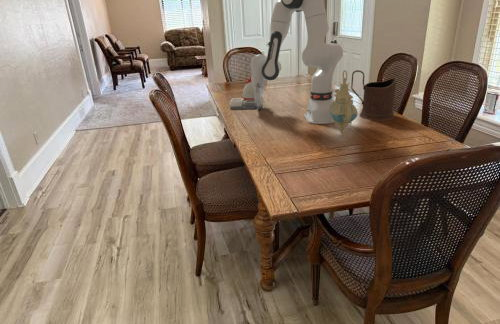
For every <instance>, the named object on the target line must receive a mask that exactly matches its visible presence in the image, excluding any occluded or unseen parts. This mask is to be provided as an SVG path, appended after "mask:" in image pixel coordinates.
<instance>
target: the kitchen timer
mask: <svg viewBox="0 0 500 324" xmlns="http://www.w3.org/2000/svg"><path fill="white" fill-rule="evenodd" d="M245 82H246V84H245V85H244V87H243V90H242V95H241V96H242V97H241V98H243V99H245V100H244V101H246V100H254V86H252V83H251V77H249V78H247V80H245Z"/></svg>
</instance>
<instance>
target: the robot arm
mask: <svg viewBox="0 0 500 324" xmlns="http://www.w3.org/2000/svg"><path fill="white" fill-rule="evenodd" d="M295 12H296V13H299V12H303V15H304V21H305V26H306V32H307V41H306V46H305V48H304V49H303V51H302V52H301V61H302V62H303V65H305V66H306V67H311V68H316V71H315V72H314V73H313V74H312V76H311V90H310V93H309V97H310V99H308V100H307V105H306V106H307V109H306V113H303V116H304V118H305V119H306V122H307V123H309V124H313V125H314V124H315V125H316V124H317V125H318V124H320V125H325V124H327V125H328V124H335V122H334V121H333V118H332V116H331V114H330V112H329V108H330V106H331V104H332V103H333V102H335V99H333V90H332V88H333V77H334V73H335V70H336V68H337V65H338V64H339V63H340V61H341V60H342V58H343V56H344V50H343V47H342V45H340V44H338V43H335V42H328V43H325V42H326V41H325V40H326V39H325V38H326V35H327V34H328V33H329V30H330V27H329V22H328V15H327V11H326V7H325V3H324V1H323V0H276V2H275V4H274V7H273V10H272V14H271V16H270V17H271V18H270V24H269V25H270V26H269V45H268V50H267V55H266V54H264V53H257V54H254V55H253V56H252V57H251V60H250V72H251V76H250V78H251V83H252V86H254V100H255V101H256V102H257V106H260V99H261V97H262V98H263V95H264V94H265V93H264V92H265V86H266V85H267V81H273V80H276V79H277V78H278V76H279V75H280V72H281V70H282V64H281V62H280V61H279V57H280V53H281V47H282V44H283V42H284V41H285V39H286V37H287V35H288V33H289V30H290V27H291V21H292V17H293V14H294V13H295Z"/></svg>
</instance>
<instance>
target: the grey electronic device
mask: <svg viewBox="0 0 500 324" xmlns="http://www.w3.org/2000/svg"><path fill="white" fill-rule="evenodd" d="M254 101H255V100H244V99H243V98H242V97H237V98H235V97H233V98H231V100H230V107H229V109H230V110H256V101H255V102H254Z"/></svg>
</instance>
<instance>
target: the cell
mask: <svg viewBox="0 0 500 324" xmlns="http://www.w3.org/2000/svg"><path fill="white" fill-rule="evenodd" d="M263 103H264V102H263V96H262V97H261V99H260V106H257V102H256V108H255V110H257V109H258V110H257V111H262V110H264V105H263ZM261 109H262V110H261Z"/></svg>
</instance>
